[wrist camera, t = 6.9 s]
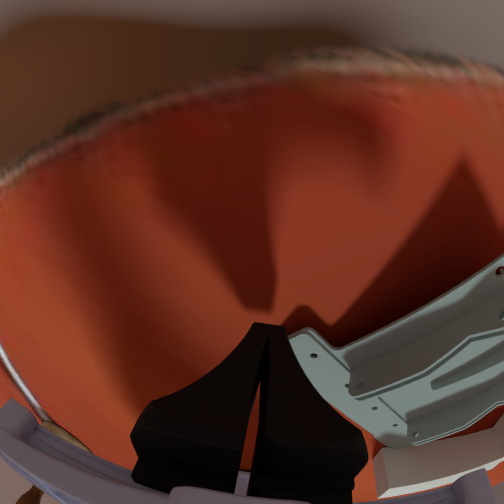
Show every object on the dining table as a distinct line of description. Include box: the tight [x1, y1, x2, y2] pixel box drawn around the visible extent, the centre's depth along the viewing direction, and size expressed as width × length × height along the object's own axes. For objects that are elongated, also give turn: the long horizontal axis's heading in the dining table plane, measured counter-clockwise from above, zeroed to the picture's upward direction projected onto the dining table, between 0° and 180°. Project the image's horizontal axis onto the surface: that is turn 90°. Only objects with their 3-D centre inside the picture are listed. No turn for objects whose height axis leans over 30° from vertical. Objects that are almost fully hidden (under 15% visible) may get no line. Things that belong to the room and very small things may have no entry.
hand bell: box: [16, 421, 91, 504], centre depth 17 cm, size 8×8×16 cm
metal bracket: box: [288, 253, 504, 449], centre depth 13 cm, size 14×6×15 cm
